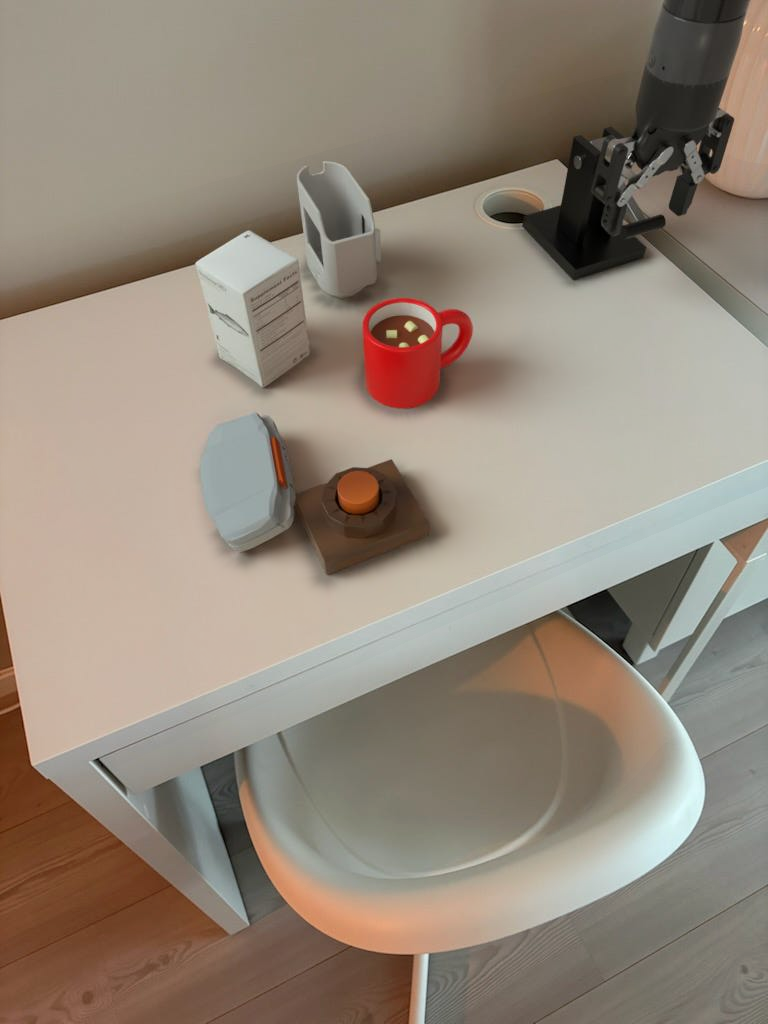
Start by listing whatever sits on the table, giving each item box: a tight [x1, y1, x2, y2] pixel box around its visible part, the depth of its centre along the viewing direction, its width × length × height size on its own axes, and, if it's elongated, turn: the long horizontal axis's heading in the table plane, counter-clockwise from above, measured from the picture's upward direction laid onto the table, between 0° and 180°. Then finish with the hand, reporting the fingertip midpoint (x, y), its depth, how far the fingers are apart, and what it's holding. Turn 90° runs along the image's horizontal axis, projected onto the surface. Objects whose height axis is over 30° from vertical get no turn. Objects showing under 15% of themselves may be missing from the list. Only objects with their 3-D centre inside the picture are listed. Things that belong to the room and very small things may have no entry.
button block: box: [294, 458, 430, 576], centre depth 68 cm, size 8×10×4 cm
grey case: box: [199, 411, 296, 553], centre depth 70 cm, size 14×3×8 cm
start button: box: [337, 471, 379, 515], centre depth 66 cm, size 4×4×2 cm
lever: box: [589, 137, 667, 240], centre depth 83 cm, size 12×5×2 cm, turn 24°
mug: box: [362, 297, 474, 409], centre depth 77 cm, size 8×12×8 cm, turn 117°
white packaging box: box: [194, 229, 311, 389], centre depth 77 cm, size 7×7×13 cm
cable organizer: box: [296, 160, 382, 299], centre depth 85 cm, size 7×12×12 cm, turn 22°
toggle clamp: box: [521, 126, 647, 281], centre depth 88 cm, size 12×10×13 cm
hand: (644, 221), depth 82 cm, fingers open, 8 cm apart
